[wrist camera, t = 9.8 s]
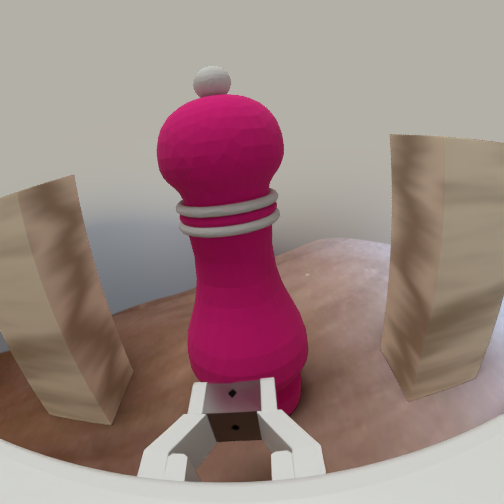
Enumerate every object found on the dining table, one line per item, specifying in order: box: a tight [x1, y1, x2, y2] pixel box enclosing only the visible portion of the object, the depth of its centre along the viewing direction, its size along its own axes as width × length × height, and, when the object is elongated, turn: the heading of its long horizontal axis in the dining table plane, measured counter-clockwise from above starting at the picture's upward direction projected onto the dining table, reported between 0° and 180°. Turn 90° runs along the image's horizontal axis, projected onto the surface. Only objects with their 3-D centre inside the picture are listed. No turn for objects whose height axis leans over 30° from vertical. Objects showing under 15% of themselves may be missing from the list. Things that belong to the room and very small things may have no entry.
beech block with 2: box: [380, 134, 504, 401], centre depth 17 cm, size 6×6×16 cm
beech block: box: [0, 175, 134, 425], centre depth 17 cm, size 6×6×16 cm
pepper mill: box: [157, 66, 308, 416], centre depth 16 cm, size 7×7×20 cm
